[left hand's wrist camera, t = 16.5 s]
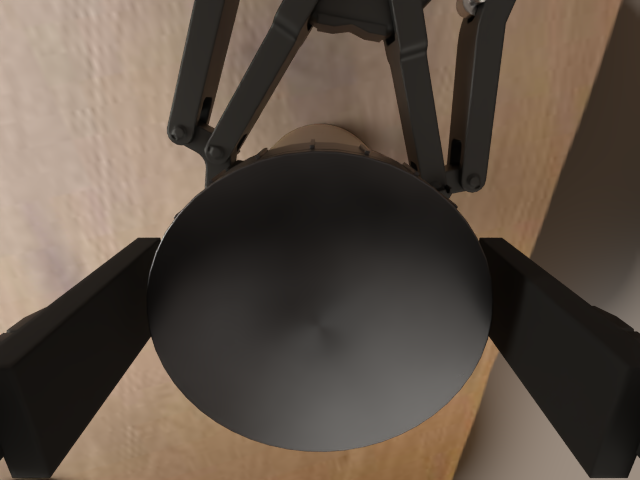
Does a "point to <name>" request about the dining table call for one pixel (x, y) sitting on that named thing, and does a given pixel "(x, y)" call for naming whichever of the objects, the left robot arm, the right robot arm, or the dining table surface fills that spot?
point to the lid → (319, 298)
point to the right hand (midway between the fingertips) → (307, 286)
